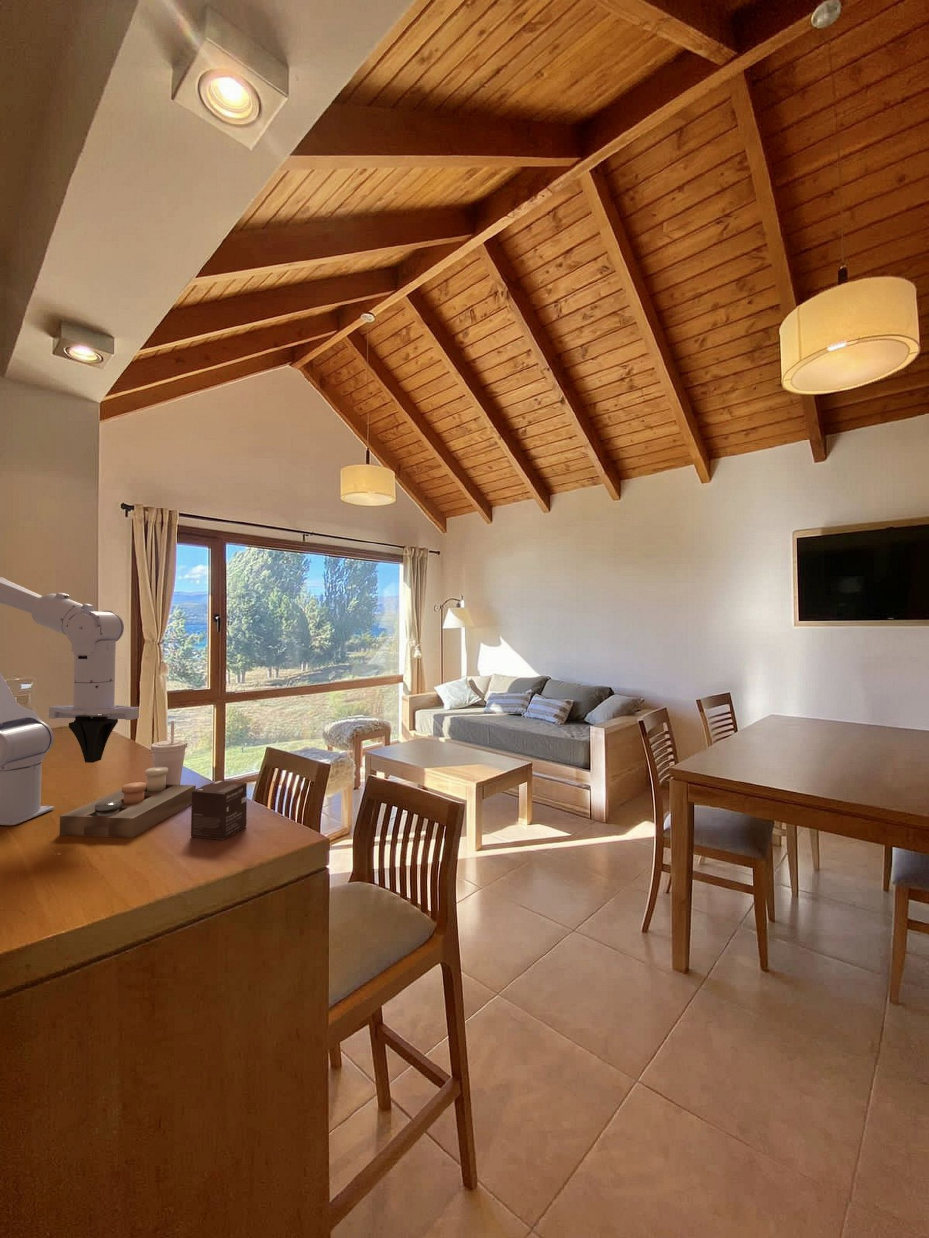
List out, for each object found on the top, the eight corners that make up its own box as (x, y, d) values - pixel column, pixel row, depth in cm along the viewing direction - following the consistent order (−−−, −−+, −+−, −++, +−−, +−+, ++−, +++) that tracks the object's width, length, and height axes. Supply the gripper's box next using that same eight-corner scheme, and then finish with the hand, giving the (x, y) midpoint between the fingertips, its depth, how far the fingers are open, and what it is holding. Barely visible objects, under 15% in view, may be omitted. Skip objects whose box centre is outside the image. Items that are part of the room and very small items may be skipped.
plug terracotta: (116, 811, 88) (116, 788, 88) (131, 804, 92) (131, 781, 92) (136, 812, 88) (137, 788, 88) (150, 805, 92) (151, 782, 92)
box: (223, 841, 80) (224, 793, 80) (189, 837, 82) (190, 790, 82) (247, 826, 86) (248, 782, 86) (215, 823, 87) (216, 779, 88)
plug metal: (88, 832, 82) (89, 806, 82) (105, 823, 86) (106, 799, 86) (110, 833, 82) (110, 807, 82) (126, 824, 86) (126, 800, 86)
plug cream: (140, 793, 94) (140, 771, 94) (153, 787, 98) (153, 766, 98) (159, 794, 94) (159, 772, 94) (171, 788, 98) (172, 766, 98)
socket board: (59, 834, 82) (60, 815, 82) (134, 799, 99) (134, 783, 99) (132, 837, 81) (133, 818, 81) (195, 801, 98) (195, 785, 98)
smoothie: (193, 791, 104) (194, 720, 104) (160, 799, 99) (161, 725, 99) (175, 785, 107) (177, 717, 108) (142, 793, 102) (144, 722, 102)
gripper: (33, 683, 85) (31, 766, 85) (118, 684, 84) (117, 768, 84) (68, 678, 92) (67, 755, 92) (147, 680, 91) (146, 757, 91)
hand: (93, 761), depth 88 cm, fingers closed
